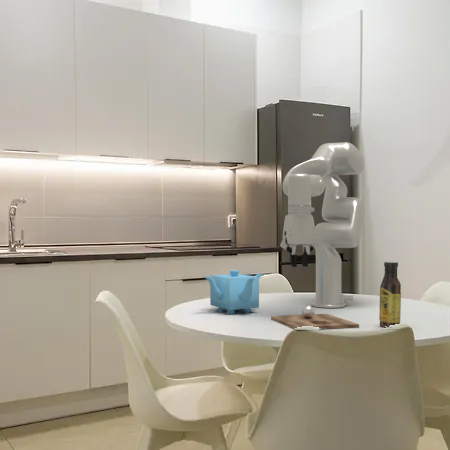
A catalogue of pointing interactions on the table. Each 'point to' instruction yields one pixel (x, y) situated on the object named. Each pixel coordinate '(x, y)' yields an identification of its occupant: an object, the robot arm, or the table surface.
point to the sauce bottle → (390, 296)
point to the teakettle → (234, 291)
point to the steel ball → (308, 311)
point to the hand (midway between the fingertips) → (299, 266)
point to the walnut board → (315, 321)
